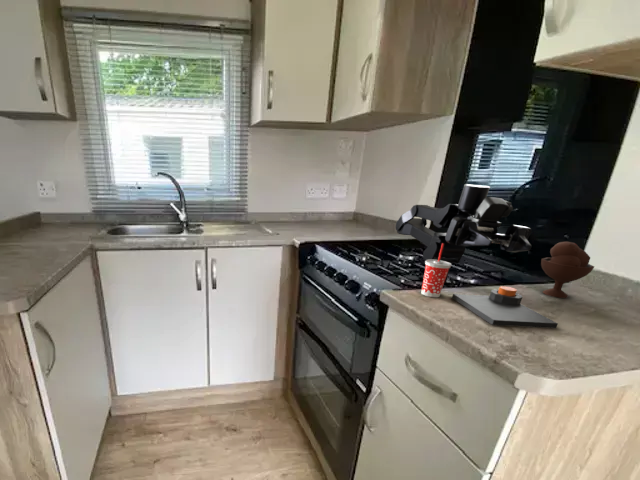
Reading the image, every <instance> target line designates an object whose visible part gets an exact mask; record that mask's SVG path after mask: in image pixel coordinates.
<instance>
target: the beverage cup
mask: <svg viewBox="0 0 640 480" xmlns="http://www.w3.org/2000/svg"><path fill="white" fill-rule="evenodd" d="M443 246H444V243H442V246H441V250H440V254H439V258H438V260H434V259H428V260H425V261H424V264H425V267H424V274H423V275H424V278H422V284H421V291H420V294H421V295H422V296H425V297H430V298H439V297H440V296H441V293H442V291H443V287H444V285H445V284H444V282H445V279H446V276H447V273H448V270H449V271H450V269H449V268H451V267H452V263H449V262H446V261H442V260H440V258H441V254H442V250H443Z"/></svg>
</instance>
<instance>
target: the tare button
mask: <svg viewBox="0 0 640 480" xmlns="http://www.w3.org/2000/svg"><path fill="white" fill-rule="evenodd" d="M498 289H499V291H498V293H499V294H502V295H506V296H515V294H516V293H518V292H517V291H518V290H517V288H514V287H510V286H507V285H506V286H505V285H501V286H499V287H498Z"/></svg>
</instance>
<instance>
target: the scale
mask: <svg viewBox="0 0 640 480" xmlns="http://www.w3.org/2000/svg"><path fill="white" fill-rule="evenodd" d="M498 291H499V288H498V289H497V288H494V289H491V290H490V292H489V295H485V294H467V293H466V294H465V293H464V294H463V293H452V296H451V299H453V300H454V301H456V302H457V303H459V304H460V305H462V306H463V307H465V308H466V309H467V310H469V311H471V312H472V313H473V314H475V315H477V316H478V317H479V318H481V319H482V320H483V321H486V322H487V323H488V324H490V325H492V326H505V327H521V328H522V327H524V328H540V329H541V328H542V329H543V328H544V329H557V328H558V324H559V322H557V321H554V320H552V319H550V318H548V317H546V316H545V315H542V314H541V313H539V312H537V311H535V310H533V309H531V308H529V307H528V306H525V305H524V304H522V300H523V294H520V293H518V292H516V294H515V296H506V295H502V294H499V293H498Z"/></svg>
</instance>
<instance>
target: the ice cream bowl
mask: <svg viewBox="0 0 640 480" xmlns="http://www.w3.org/2000/svg"><path fill="white" fill-rule="evenodd" d="M549 253H550V256H551V257H543V258H541V260H540V266H541V269H542V271H543V272H544V273H545V275H547V276H548V278H550V279H552V280H554V285H553V287H552V288H548V289H544V290H543V291H542V293H543V294H544V295H546V296H549V297H553V298H559V299H567V298H568V297H569V296H568V294H567V293H566V292H564V291H563V290H562V288H563V286H564V284H565V283H568V282H570V283H571V282H574V281H575V282H576V281H577V280H580V279H582V278H584V277H587V276H588V275H589V274H590V273H592V271H593V270H594V268H595V266H594V265H592V264H590V260H591V256H590V255H589V254H588V253H587V252H586V251H585V250H584V249H582V248H580V246H578V244H577V243H575V242H572V241H560V242H558V243H555V244H554V246H552V247H551V248H550V251H549Z"/></svg>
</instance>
